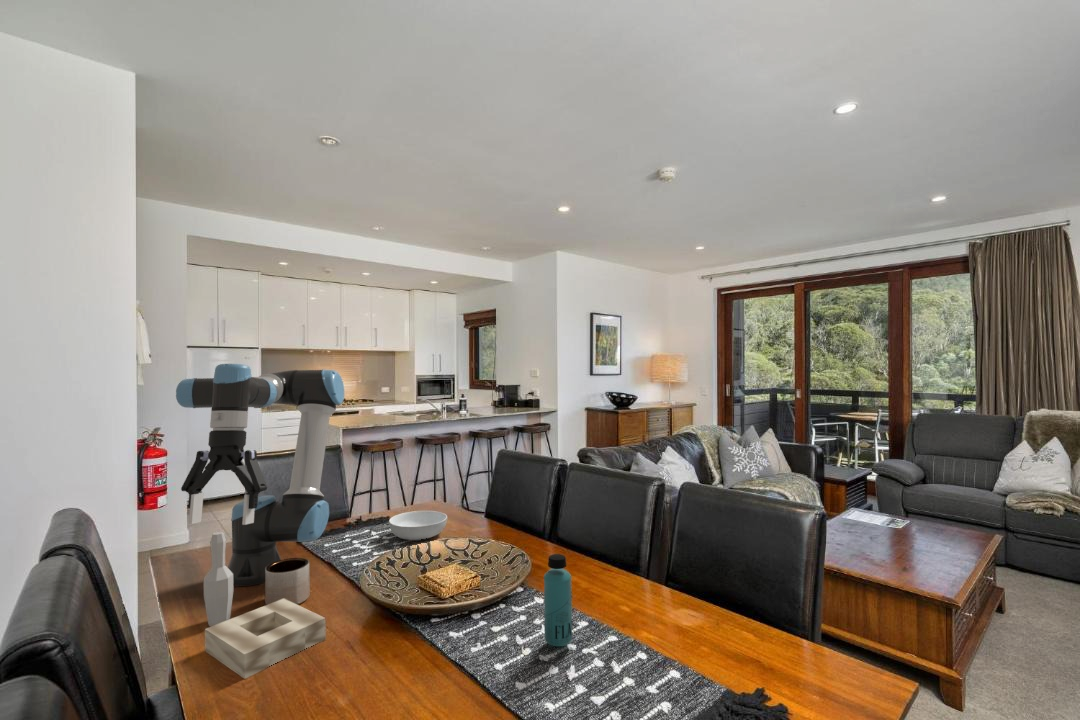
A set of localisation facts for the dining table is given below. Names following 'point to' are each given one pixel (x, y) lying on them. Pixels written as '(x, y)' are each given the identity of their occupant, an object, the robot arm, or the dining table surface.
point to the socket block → (264, 636)
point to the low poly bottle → (218, 583)
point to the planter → (287, 581)
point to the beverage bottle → (557, 602)
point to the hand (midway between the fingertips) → (221, 523)
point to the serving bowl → (418, 524)
